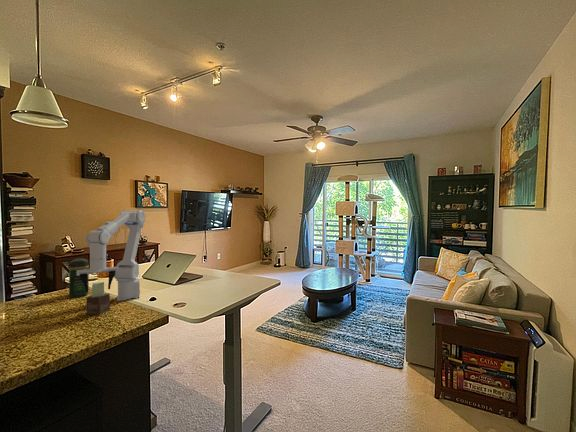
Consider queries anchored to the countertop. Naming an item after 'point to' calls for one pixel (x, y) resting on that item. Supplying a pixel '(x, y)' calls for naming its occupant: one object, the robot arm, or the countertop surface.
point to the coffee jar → (77, 277)
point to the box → (98, 304)
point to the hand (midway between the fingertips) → (98, 290)
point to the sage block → (98, 289)
